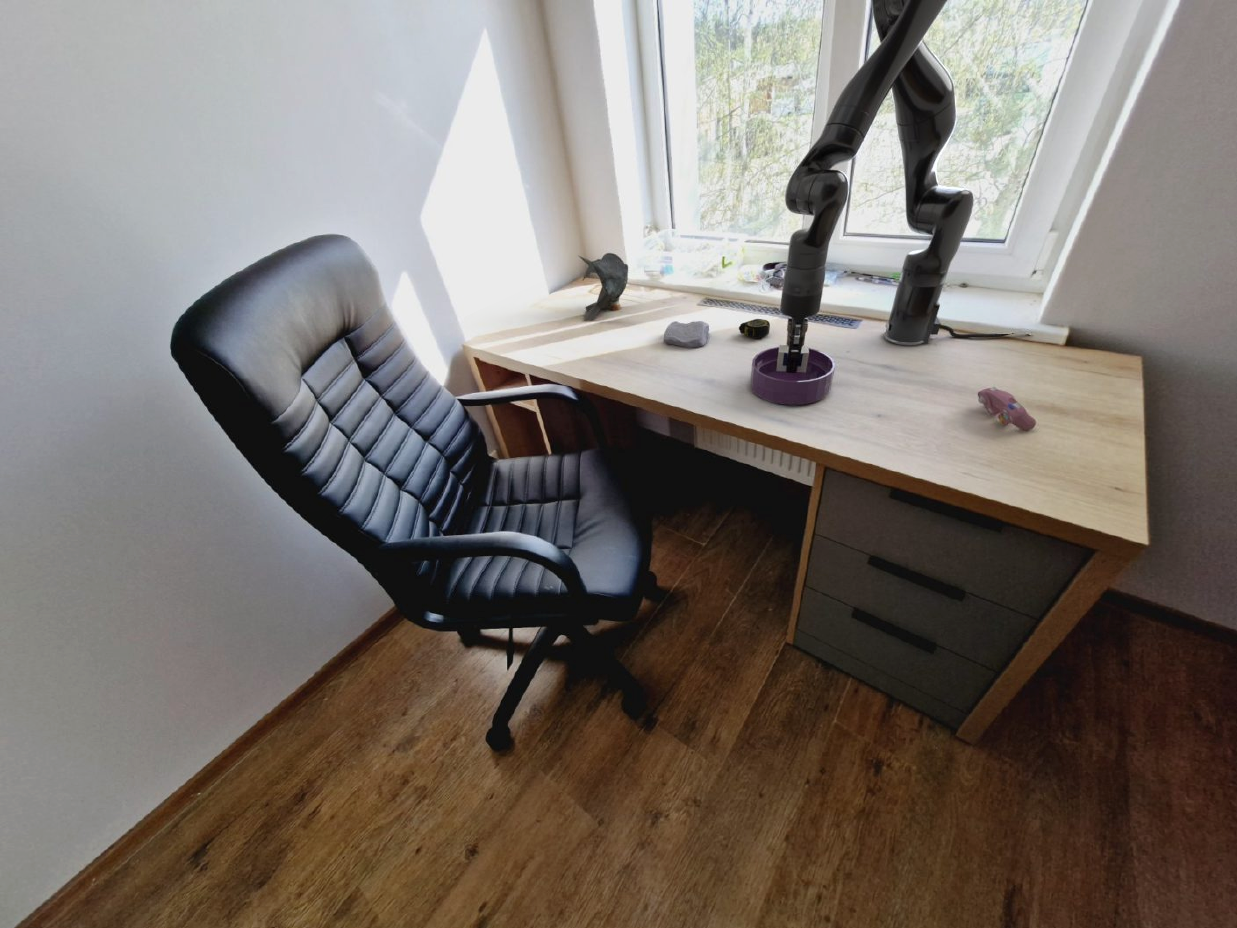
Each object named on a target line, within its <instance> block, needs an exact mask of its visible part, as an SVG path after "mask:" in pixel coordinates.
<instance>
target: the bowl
mask: <svg viewBox="0 0 1237 928" xmlns="http://www.w3.org/2000/svg"><path fill="white" fill-rule="evenodd" d="M778 353H779V346H776V347H771V348H767V349H765V350H762V351H760V352H758V353H757V354H756V355H755V356H754V357H753V358H752V360H751V361H752V362H751V371H750V381H749V382H750V384H749V385H750V388H751V391H752V392H753V393H754V394H755V395H757V396H758V397H760V398H761V399H763V400H766V401H767V402H768V401H769V402H771V403H775V404H778V405H785V406H801V405H807V404H811V403H812V404H813V403H815V402H818V401H820V400H823V399H824V398H825V397H827V396H828V395H829V394H830V392H831V390H832V384H833V379H834V374H835V369H836V363H835V361H834V359H833V358H832V357H831V356H830V355H828V354H827V353H826V352H824V351H821V350H818V349H815V348H811V347H809V355H808V361H807V367H806V372H796V373H787V372H786V371H777V361H778Z"/></svg>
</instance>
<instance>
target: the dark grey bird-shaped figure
mask: <svg viewBox="0 0 1237 928" xmlns="http://www.w3.org/2000/svg"><path fill="white" fill-rule="evenodd" d="M578 257H579V258H580V259H581V260H582V261H583V262H584V263H585V264H586V265H587V269H586V270H585V273H584V276H583V278H582V281H581V282H583V281H584V280H585V279H586V278H587V277H588V276H589V275H590V274H591V273H594V274H596V275H597V276H598V279H599V281H600V284H601V288H600V290H599V294H598V297H597V300H596V301H595V302H593V303H591V304H589V305H587V306H585V316H584V322H588V321H594V319H595V317H596V316H597V315H598V313H599V311H606V310H608V311H619V310H620V309H621V302H620V297H621V296H622V295H623V293H624V291H625V290H626V288H627V285H628V281H629V265H628V264H627V263H625V262H624V261H623V260H622V258H621V257H620V256H618V254H615V253H614V252H613V253H612V252H606V253H605V254H604V255H602V257H601V258H598V259H596V260H590V259H587V258H585V257H582V255H581V256H580V255H578Z"/></svg>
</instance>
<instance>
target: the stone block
mask: <svg viewBox="0 0 1237 928" xmlns="http://www.w3.org/2000/svg"><path fill="white" fill-rule="evenodd" d="M709 333H710V325H709V324H708V323H707V322H706V321H703V320H700V321H699V320H698V321H690V322H686V323H684V322H679V321H672V322H671V323H670V324H668V326H667V327H666V328H665V330H664V333H663V341H664V343H665V344H670V345H676V346H678V347H683V348H690V349H692V348H693V349H694V348H701V347H703V346H704V345H705V344H707V339H708V336H709Z"/></svg>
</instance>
